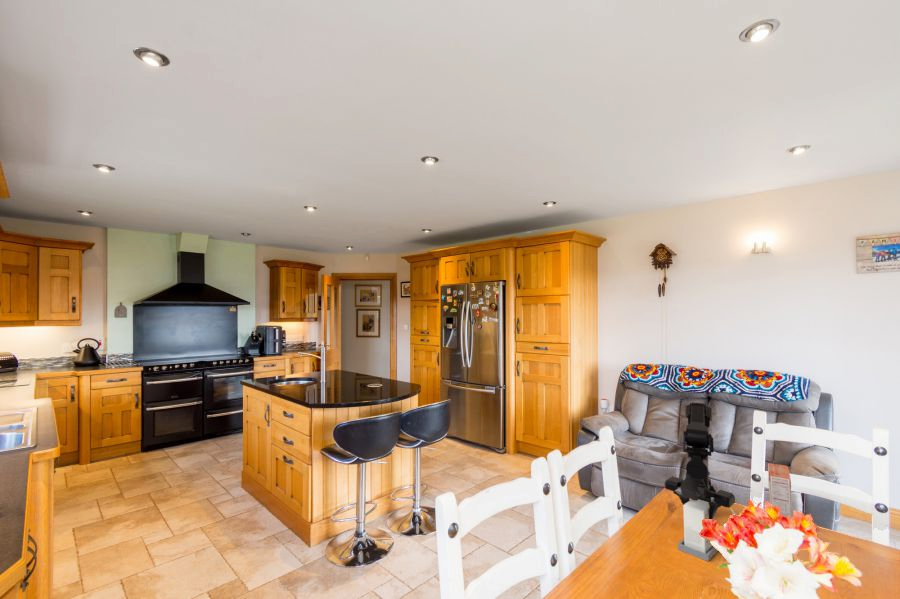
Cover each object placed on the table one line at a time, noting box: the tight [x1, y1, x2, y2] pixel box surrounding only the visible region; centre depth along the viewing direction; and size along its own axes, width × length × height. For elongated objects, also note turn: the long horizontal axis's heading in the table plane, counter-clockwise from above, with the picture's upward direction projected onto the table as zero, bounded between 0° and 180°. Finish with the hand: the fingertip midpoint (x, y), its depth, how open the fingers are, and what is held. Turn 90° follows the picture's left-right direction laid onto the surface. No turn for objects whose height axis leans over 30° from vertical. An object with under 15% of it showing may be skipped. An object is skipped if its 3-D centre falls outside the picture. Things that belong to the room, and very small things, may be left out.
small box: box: [682, 499, 715, 553], centre depth 135 cm, size 8×6×13 cm
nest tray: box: [677, 538, 719, 562], centre depth 135 cm, size 11×9×2 cm
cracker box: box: [767, 462, 793, 517], centre depth 146 cm, size 14×6×21 cm, turn 144°
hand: (698, 518), depth 136 cm, fingers closed on small box, 6 cm apart
